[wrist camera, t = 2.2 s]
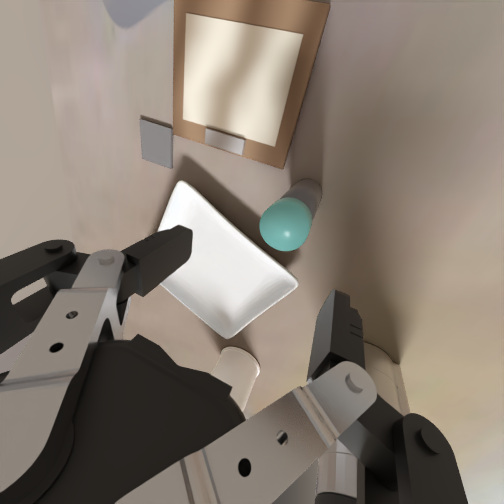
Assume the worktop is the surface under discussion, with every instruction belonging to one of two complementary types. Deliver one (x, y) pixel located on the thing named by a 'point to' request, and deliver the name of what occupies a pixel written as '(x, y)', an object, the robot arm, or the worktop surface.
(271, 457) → the robot arm
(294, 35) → the clipboard
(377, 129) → the worktop surface
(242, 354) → the white nozzle bottle
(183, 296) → the salad plate
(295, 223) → the marker
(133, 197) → the worktop surface
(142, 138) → the coaster
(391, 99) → the worktop surface
